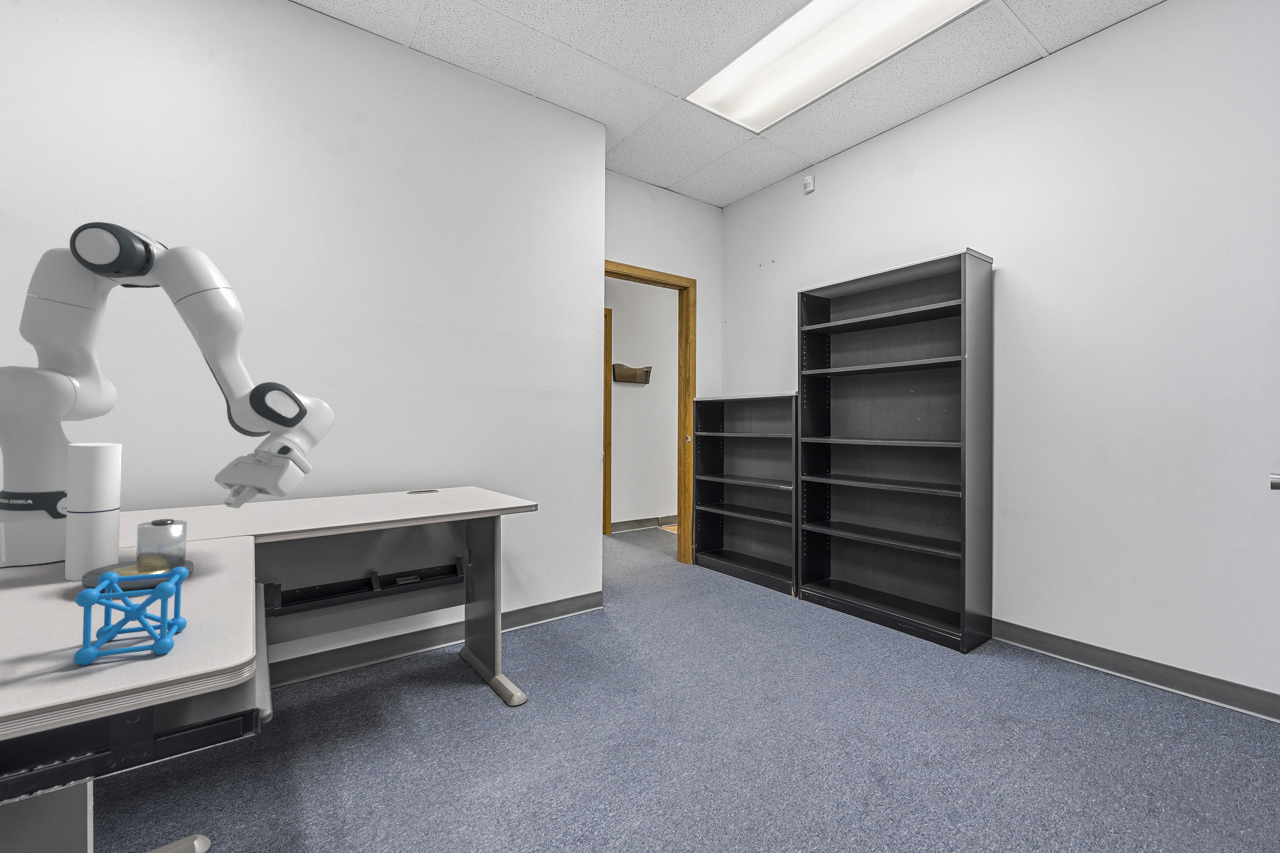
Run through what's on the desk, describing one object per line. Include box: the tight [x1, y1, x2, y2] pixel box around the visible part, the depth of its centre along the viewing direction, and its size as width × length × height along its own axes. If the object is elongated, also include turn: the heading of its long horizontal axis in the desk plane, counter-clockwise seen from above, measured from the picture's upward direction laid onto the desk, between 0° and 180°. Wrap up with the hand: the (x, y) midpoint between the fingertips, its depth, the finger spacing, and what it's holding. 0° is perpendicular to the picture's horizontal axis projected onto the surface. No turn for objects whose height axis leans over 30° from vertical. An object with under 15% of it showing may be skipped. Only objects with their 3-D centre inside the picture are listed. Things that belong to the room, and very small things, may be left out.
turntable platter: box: [81, 559, 195, 591], centre depth 99 cm, size 15×15×1 cm
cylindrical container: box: [64, 442, 123, 582], centre depth 102 cm, size 7×7×25 cm
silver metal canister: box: [135, 518, 188, 571], centre depth 102 cm, size 7×7×9 cm
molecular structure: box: [72, 567, 189, 666], centre depth 75 cm, size 10×10×10 cm
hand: (230, 506), depth 113 cm, fingers closed
